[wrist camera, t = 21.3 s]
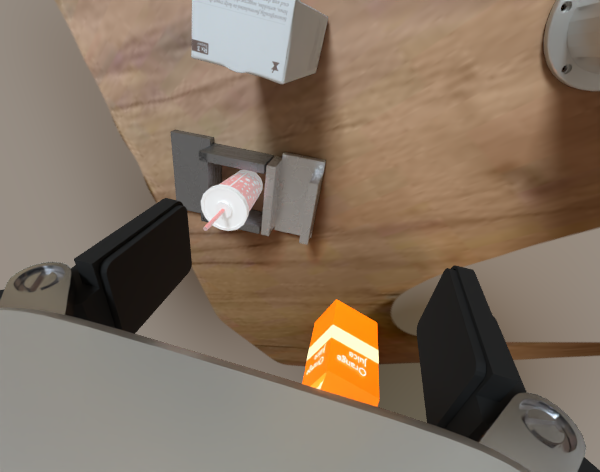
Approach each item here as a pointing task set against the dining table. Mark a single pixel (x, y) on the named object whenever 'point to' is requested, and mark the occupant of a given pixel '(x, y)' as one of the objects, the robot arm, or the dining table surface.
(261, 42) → the skincare box
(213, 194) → the beverage cup
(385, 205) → the dining table surface
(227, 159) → the fixed leaf
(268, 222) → the gray u-channel trough
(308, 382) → the orange juice
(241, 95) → the dining table surface
